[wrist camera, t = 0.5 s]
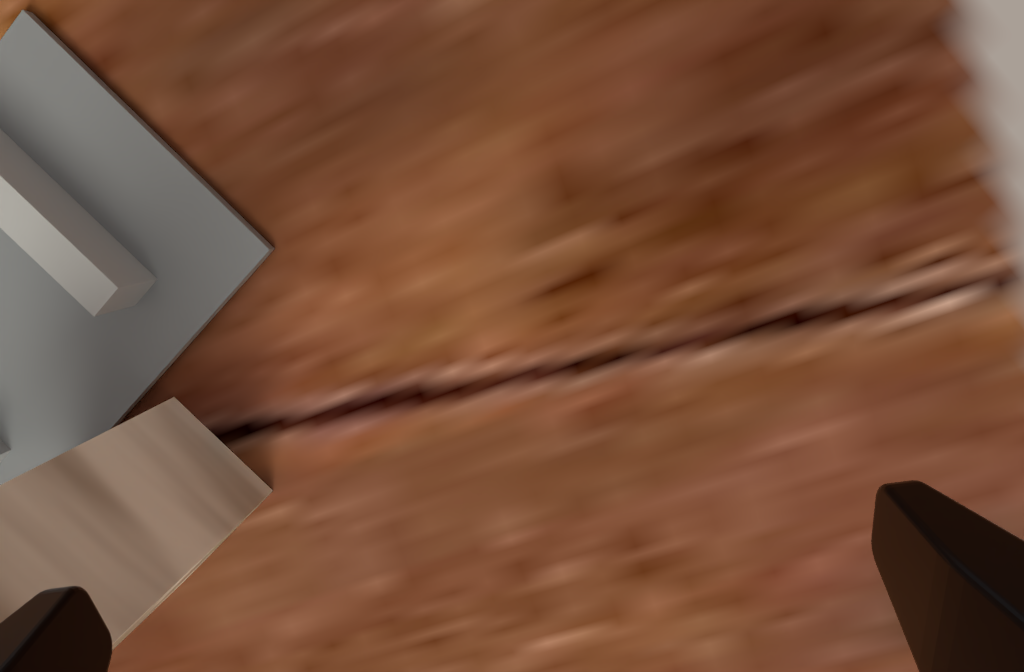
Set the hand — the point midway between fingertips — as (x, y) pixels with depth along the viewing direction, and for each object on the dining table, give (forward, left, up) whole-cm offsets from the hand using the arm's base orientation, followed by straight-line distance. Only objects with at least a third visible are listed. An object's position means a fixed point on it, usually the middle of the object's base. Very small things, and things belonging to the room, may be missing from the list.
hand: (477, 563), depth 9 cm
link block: (-13, +5, -16) cm, 21 cm away
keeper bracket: (-13, +13, -16) cm, 24 cm away
